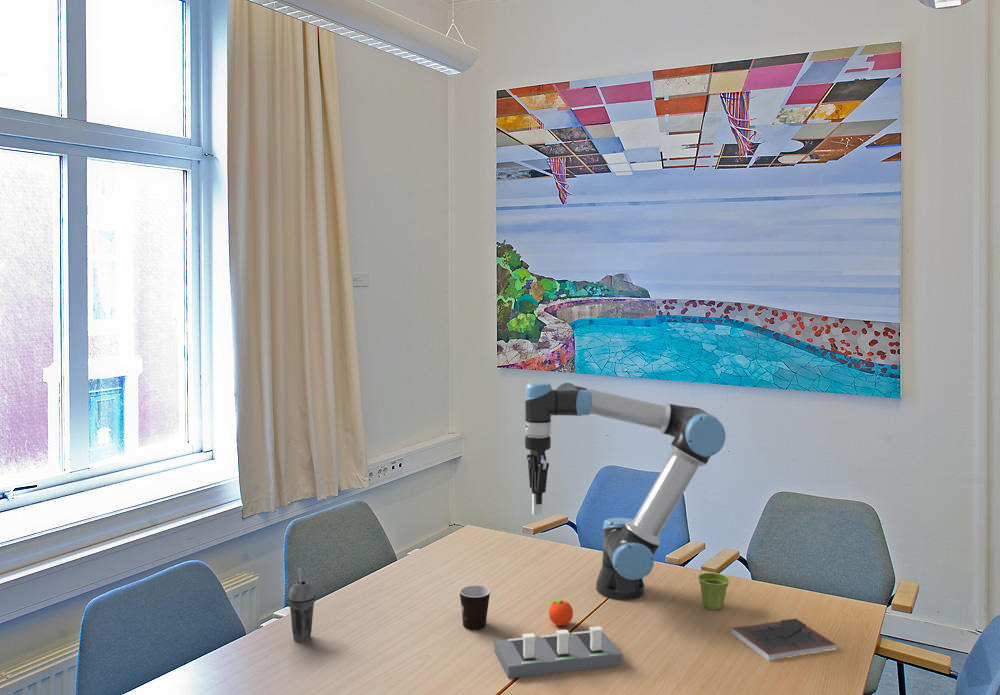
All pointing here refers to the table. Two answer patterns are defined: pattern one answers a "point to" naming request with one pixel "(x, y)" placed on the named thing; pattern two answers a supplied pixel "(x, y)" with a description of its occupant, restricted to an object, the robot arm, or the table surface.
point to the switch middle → (562, 641)
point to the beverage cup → (301, 609)
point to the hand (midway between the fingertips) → (537, 513)
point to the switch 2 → (595, 638)
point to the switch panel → (555, 655)
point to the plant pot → (713, 589)
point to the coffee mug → (474, 606)
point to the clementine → (560, 612)
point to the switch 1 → (528, 645)
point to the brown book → (782, 639)
